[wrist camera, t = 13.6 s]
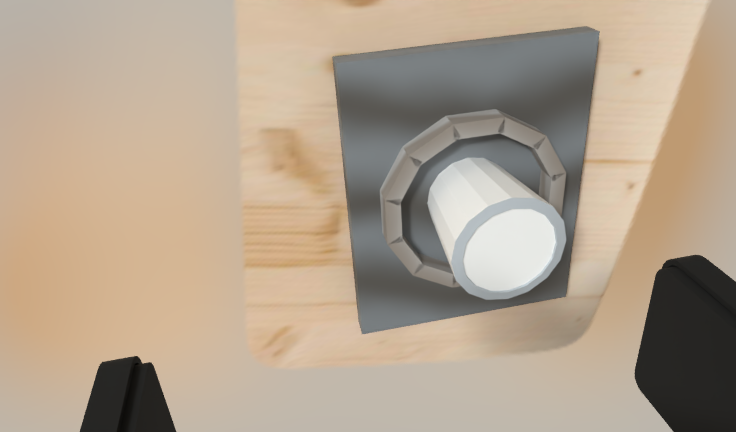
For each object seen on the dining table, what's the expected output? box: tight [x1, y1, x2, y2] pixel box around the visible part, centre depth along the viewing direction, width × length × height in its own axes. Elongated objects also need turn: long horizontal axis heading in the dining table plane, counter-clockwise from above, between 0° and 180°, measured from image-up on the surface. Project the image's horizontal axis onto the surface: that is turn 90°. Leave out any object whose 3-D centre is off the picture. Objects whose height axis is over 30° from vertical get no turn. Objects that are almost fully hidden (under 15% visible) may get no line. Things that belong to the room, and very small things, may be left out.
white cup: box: [427, 158, 566, 300], centre depth 36 cm, size 7×7×7 cm
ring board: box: [333, 26, 600, 334], centre depth 39 cm, size 20×16×3 cm
